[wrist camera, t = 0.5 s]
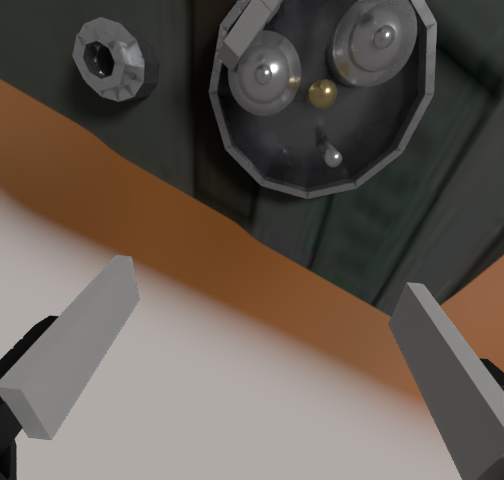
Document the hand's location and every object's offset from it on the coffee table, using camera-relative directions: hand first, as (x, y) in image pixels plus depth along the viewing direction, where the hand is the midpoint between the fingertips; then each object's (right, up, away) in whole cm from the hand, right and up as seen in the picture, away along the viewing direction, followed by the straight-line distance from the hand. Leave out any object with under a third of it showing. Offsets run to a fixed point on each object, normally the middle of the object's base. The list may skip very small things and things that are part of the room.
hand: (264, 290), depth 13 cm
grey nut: (-14, +22, +17) cm, 32 cm away
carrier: (+6, +19, +17) cm, 26 cm away
